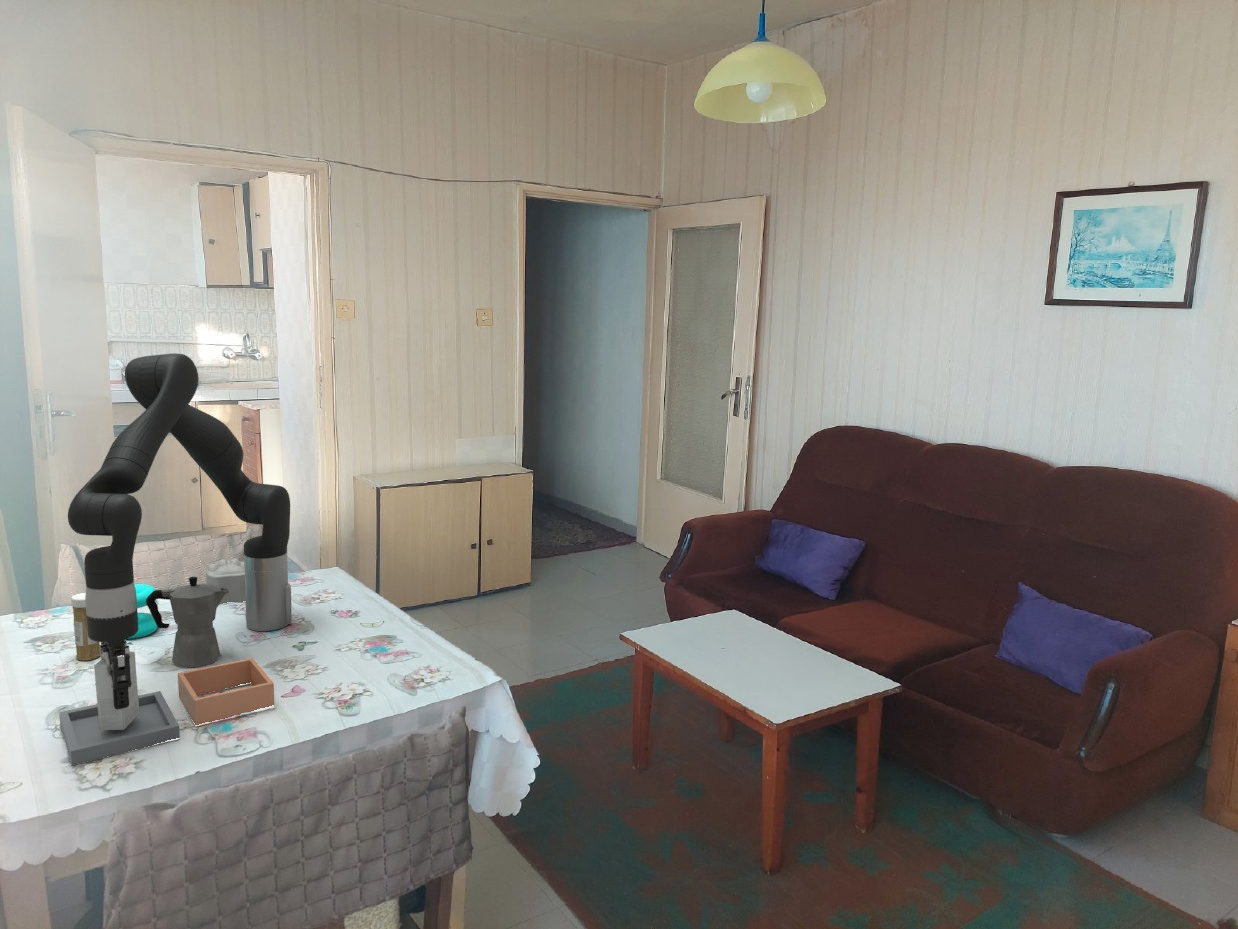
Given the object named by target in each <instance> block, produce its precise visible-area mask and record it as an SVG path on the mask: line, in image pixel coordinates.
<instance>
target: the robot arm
mask: <svg viewBox="0 0 1238 929" xmlns="http://www.w3.org/2000/svg"><path fill="white" fill-rule="evenodd" d="M196 366H197V365H196V364H195V362H194V361H193V360H192V358H191V357H189V356H188V355H186V354H184V353H164V354H163V353H162V354H155V355H153V354H152V355H145V356H139V357H136V358H133V359H131V360H130V361H129V362H128V363H127V365H126V366H125V369H124V378H125V384H126V386H127V388H128V390H129V392H130V395H132V396H133V398H134V399H135V401H136V402H137V403H139V404H140V406H142V407H143V408H144V409H145V410H144V411H143V412H142V413H141V414H140V415H139V416H138V417H137V418H136V419H134V421H132V422H131V423H130V424H129V425H127V426H126V427H125V428H124V429H122V431H121V432H120V433H119V434H118V435H117V436H116V438H115V440H113V442H112V443H111V445H110V448H109V450H108V452H107V454H106V456H105V458H104V460H103V462H102V464H101V467H100V469H99V470H98V471H97V472H95V474H94V475H93V476H92V477H91V478H90V479H89V480H88V481H87V482H86V483H85V484H84V486H82V488H80V489H79V491H78V492H77V493H76V494H75V496H74V497H73V499H72V500H71V502H70V504H69V507H68V509H67V510H68V512H67V522H68V525H69V526H70V528H71V529H72V530H73V532H74V533H77V534H78V535H83V536H101V537H102V536H104V537H107V536H109V537H112V541H111V543H110V545H107V546H102V547H101V546H100V547H97V548H94V549H91V550H89V551H87V553H86V554H85V556H84V576H85V593H86V595H85V603H86V617H87V631H88V637H89V638H90V639H91V640H93V641H96V642H100V652H101V655H100V660H101V659H102V658H103V660H104V661H105V664H106V670H107V676H109V677H111V682H112V685H111V688H112V689H113V700H114V708H115V709H122V708H127V707H128V706H129V692H128V687H131V685H132V683H131V676H130V669H131V668H130V659H129V658H130V655H129V654H130V651H131V650H130V646H129V645H128V643H127V640H128V639H127V638H129V637H132V636H134V635H135V634H136V633H137V632H138V613H139V612H138V608H137V596H136V589H135V585H134V584H135V578H134V577H135V576H134V562H133V559H134V558H133V557H134V552H135V546H136V541H137V537H138V535H139V534H138V533H139V530H140V527H141V523H142V518H143V510H142V506H141V503H140V502H139V501H138V499H137V498H136V497H135V496H133V495H131V494H134V493H137V492H139V491H140V490H141V489H142V487H144V484H145V482H146V479H147V478H148V475H149V473H150V470H151V467H152V466H153V463H154V460H155V458H156V456H157V454H158V452H159V449H161V446H162V445H163V443H164V441H165V440H166V438H167V437H168V435H169V433H170V434H171V435H172V436H173V437H174V439H176V441H178V442H179V444H180V445H181V446H182V447H183V448H184V449H185V452H187V453H188V455H189V456H190V458H191V459H193V461H194V462H195V463H196V464H197V465H198V467H199V468H200V469H201V470H202V471H203V472H204V474H206V475H207V476H208V478H209V479H210V480H211V481H212V483H213V484H214V486H215V487H217V489H218V490H219V491H220V493H221V495H222V496H223V498H224V500H225V501H226V502H227V504H228V506H229V507H230V508H231V510H232V511H233V513H234V515H235V516H236V517H237V518H238V519H239V520H241V521H242V522H244V523H247V524H253V525H261V526H262V531H261V532H262V533H261V535H258V536H254V537H252V538H249V539H247V540H246V541H244V544H243V562H244V571H245V601H246V602H245V621H246V623H245V624H246V625H245V626H246V628H247V629H250V630H252V631H258V632H267V631H268V632H269V631H270V630H271V631H275V630H279V629H282V628H285V627H287V626H289V625H288V624H290V625H292V624H293V623H292V622H293V620H292V619H293V618H292V616H293V615H292V586H291V584H290V583H289V577H288V576H289V571H288V566H289V565H288V544H289V540H290V534H291V533H290V532H291V530H290V529H291V528H290V526H291V524H290V523H291V521H290V520H291V499H290V495H289V492H288V490H287V489H286V487H284V486H281V485H278V484H269V483H268V484H267V483H258V482H255V481H252V480H251V479H250V478H249V477H248V476H247V475H246V474H245V472H244V471H243V469H242V467H243V463H244V449H243V447H242V445H241V442H240V441H239V440H238V438H237V437H236V436H235V434H234V433H233V432H232V430H230V428H229V427H228V426H227V425H226V423H224V422H223V421H221V420H220V419H218V418H216V417H214V415H211V414H209V413H207V412H205V411H203V410H201V409H199V408H196V407H194V406H192V405H190V403H191V401H192V400H193V398H194V396H195V394H196V392H197V389H198V386H199V372H198V368H197V367H196ZM284 626H285V627H284ZM110 664H111V665H112V670H111V668H110ZM123 675H124V679H125V680H122V681H117V677H119V676H123Z"/></svg>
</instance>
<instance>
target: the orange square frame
mask: <svg viewBox="0 0 1238 929" xmlns="http://www.w3.org/2000/svg"><path fill="white" fill-rule="evenodd" d="M250 682H251V684H252V685H253V686H252V685H251V684H250V685H251V686H246V687H241V688H238V689H233V690H228V691H224V690H223V689H225V688H230V689H232V688H231V687H234V688H236V687H235V686H238V685H240V684H246V683H250ZM177 685H178V686H177V687H178V689H177V690H178V698H179V701H180V702H181V704H182V706H183V705H184V706H183V707H184V709H185V711H186V713H187V712H188V713H187V714H188V716H189V715H190V716H189V718H190V717H191V718H190V719H192V720H193V721H192V720H191V721H192V723H193V722H194V723H195V725H199V724H202V723H205V722H212V721H215V720H220V719H225V718H228V717H232V716H234V715H240V714H241V713H244V712H251V711H254V710H257V709H260V708H265V707H269V706H272V705H274V706H275V683H274V682H273V680H272V679H271V678H270V677H269V676H268V675H267V673H266V672H265V671H264V670H263V668H262V667H261V666H260V665H259V663H258V662H257V661H256V660H255V659H254V658H253V657H251V658H246V659H245V658H244V659H241V660H240V659H239V660H237V661H230V662H225V663H222V664H215V665H210V666H204V667H199V668H196V669H195V668H194V669H191V670H186V671H182V672H177ZM219 690H220V691H224V692H219ZM225 690H226V689H225ZM213 691H216V692H218V693H215V694H211V695H206V694H210V693H209V692H211V693H214V692H213ZM202 695H206V696H202ZM198 696H201V697H198ZM194 723H193V724H194ZM195 725H194V726H195Z"/></svg>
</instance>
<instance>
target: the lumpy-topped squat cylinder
mask: <svg viewBox="0 0 1238 929" xmlns="http://www.w3.org/2000/svg"><path fill="white" fill-rule="evenodd" d="M205 571H206V573H205V574H206V577H205V578H206V584H208V585H214V586H215V587H220V588H223V589H227V590H228V591H229V593H227V594H225V596H224V597H223V598H222V600H221V602H220V603H219V605H224V604H223V603H226V604H228V603H227V602H238V603H244V602H243V601H245V571H244V561H240V560H239V559H238V558H235V557H234V558H232V559H230V560H227V559H223V558H222V559H220V560H219V561H218V562H216V563H209V565H207V569H206V570H205Z"/></svg>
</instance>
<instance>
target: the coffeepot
mask: <svg viewBox="0 0 1238 929" xmlns="http://www.w3.org/2000/svg"><path fill="white" fill-rule="evenodd" d="M188 581H189V584H188V585H182V586H177V587H175V588H174V589H173V588H170V589H169V588H168V589H156V590H154V591H153V592H152V593H151V594H150V595H149V596H148V597H147V599H146V604H147V606H146V607H147V608H148V610H149V612H150V614H151V615H152V616H153V618H154V621H155V623H156V625H157V627H158V628H157V629H168V628H170V623H165V622H163V618H162V614H161V613H160V611H159V607H158V603H156V600H169V602H170V608H171V610H172V615H173V619H174V623H175V624H176V625H177V631H176V632H175V634H174V635H175V636H174V644H173V651H172V657H171V661H172V663H173V664H174V665H175V666H177V667H179V668H183V667H184V668H185V667H186V668H185V669H188V668H189V669H195V667H196V668H203V667H207V666H209V665H211V664H214V663H216V662H217V661H218V660H219V659H220V658H221V656H222V655H221V650H220V646H219V642H218V638H217V632H216V630H215V627H214V621H215V619H216V615H217V608H218V607H219V606H220V604H219V603H220V602H221V600H222V598H223V597H224V596H225V594H227V593H229V591H228V590H227V589H223V588H220V587H215V586H214V585H208V584H207V583H205V584H204V583H197V582H198V577H197V576H191V577H189V578H188ZM215 661H216V662H215ZM208 664H209V665H208ZM192 667H193V668H192Z"/></svg>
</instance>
